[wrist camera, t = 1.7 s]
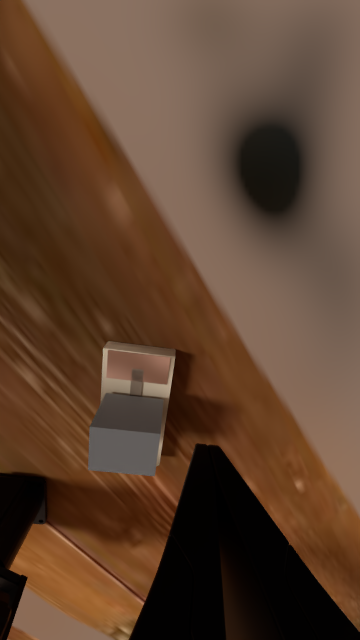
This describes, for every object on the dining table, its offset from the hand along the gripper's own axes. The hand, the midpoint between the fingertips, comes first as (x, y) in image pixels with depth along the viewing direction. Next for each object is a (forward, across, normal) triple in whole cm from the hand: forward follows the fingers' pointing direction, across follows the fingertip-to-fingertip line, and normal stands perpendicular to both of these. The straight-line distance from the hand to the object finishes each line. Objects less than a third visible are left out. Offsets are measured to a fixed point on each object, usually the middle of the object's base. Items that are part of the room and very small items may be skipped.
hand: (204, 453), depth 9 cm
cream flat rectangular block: (+13, +4, +8) cm, 16 cm away
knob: (+11, +4, +8) cm, 14 cm away
